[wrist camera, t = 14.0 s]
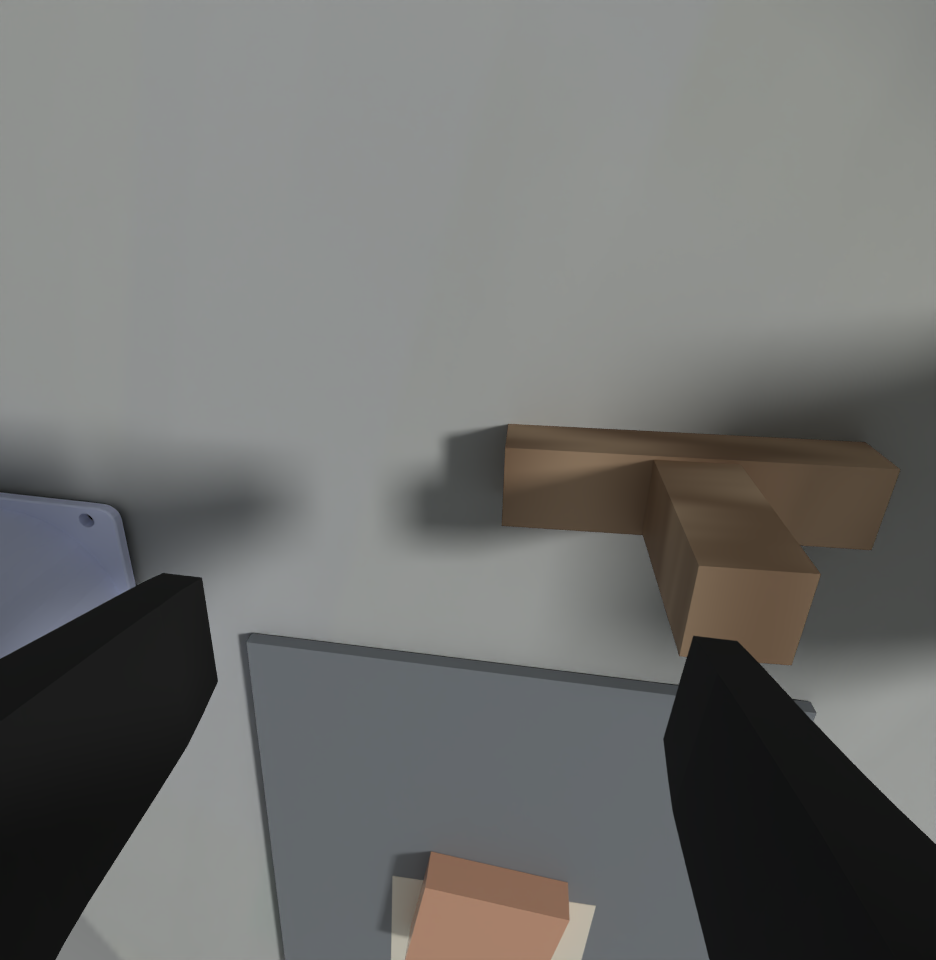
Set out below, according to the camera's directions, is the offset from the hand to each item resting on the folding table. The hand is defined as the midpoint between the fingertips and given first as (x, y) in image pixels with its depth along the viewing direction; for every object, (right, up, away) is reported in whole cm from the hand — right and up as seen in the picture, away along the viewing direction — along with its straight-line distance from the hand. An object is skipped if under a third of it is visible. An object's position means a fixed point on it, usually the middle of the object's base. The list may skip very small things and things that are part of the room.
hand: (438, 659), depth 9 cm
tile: (+1, -16, +18) cm, 25 cm away
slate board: (+2, -14, +17) cm, 22 cm away
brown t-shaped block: (+7, +3, +9) cm, 12 cm away
